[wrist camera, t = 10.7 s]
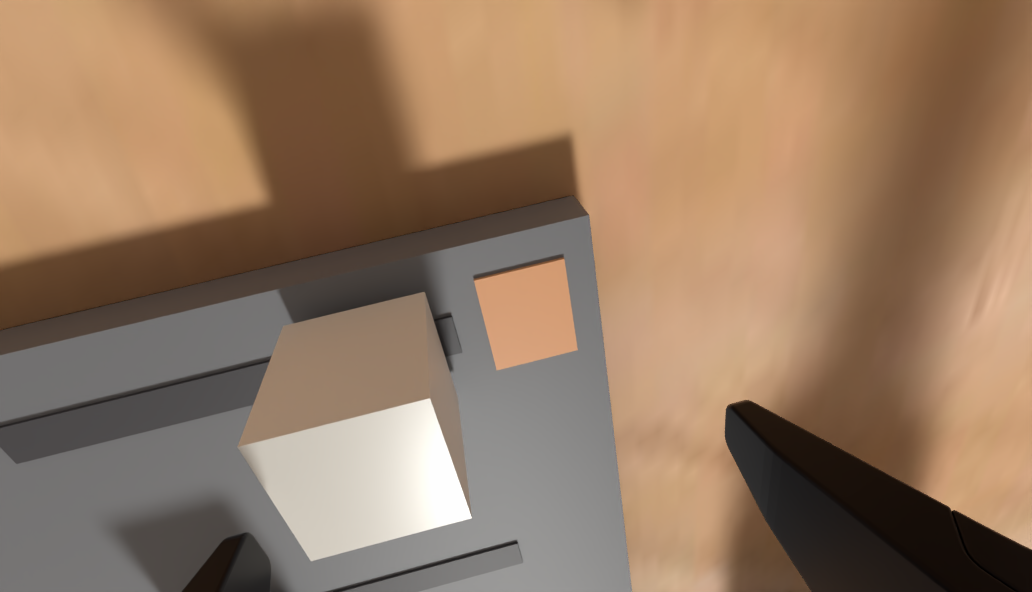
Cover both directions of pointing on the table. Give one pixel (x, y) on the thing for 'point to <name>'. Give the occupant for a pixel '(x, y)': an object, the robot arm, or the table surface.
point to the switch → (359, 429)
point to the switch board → (232, 392)
